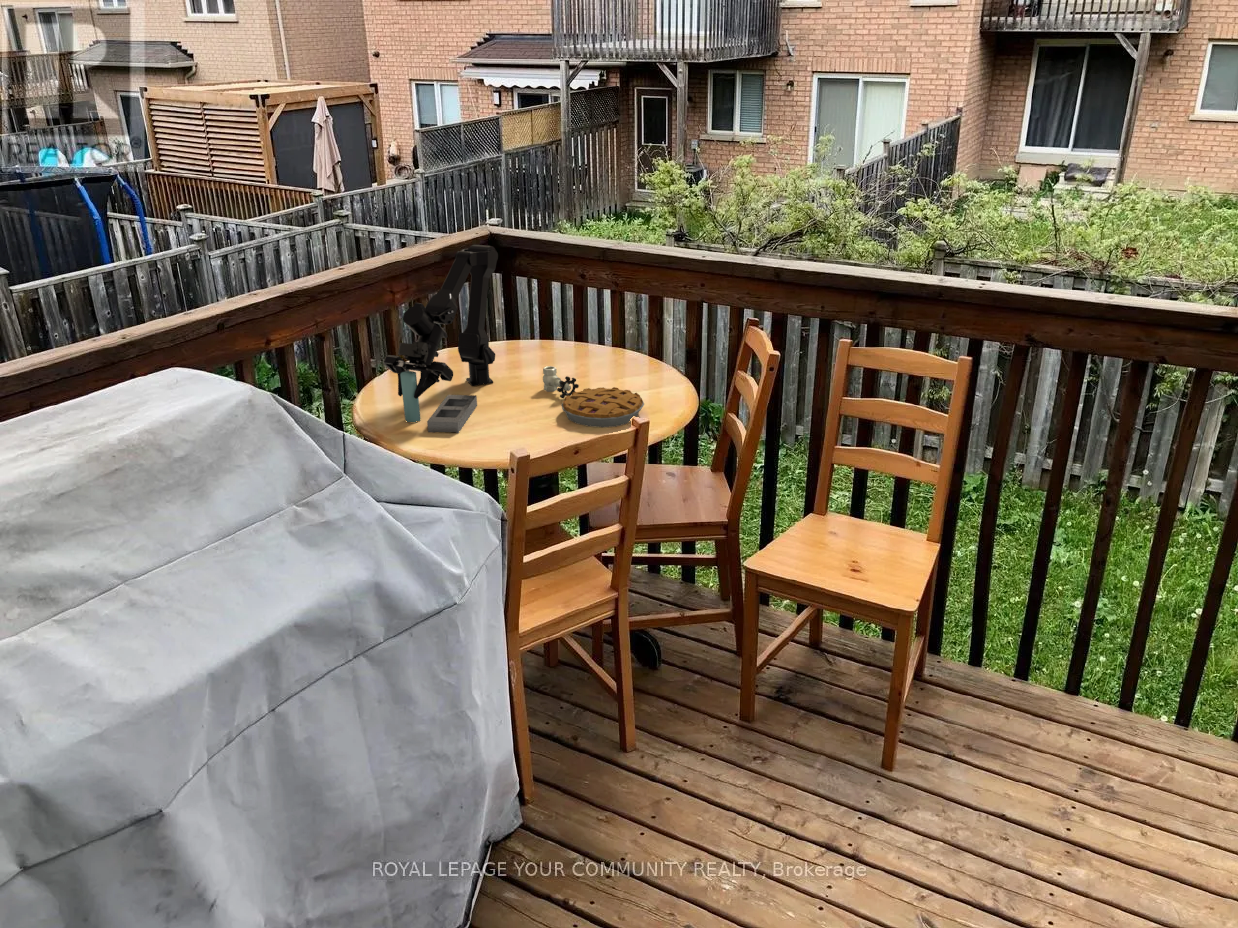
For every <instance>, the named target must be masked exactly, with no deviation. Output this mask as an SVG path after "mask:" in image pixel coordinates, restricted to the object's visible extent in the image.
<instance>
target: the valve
mask: <svg viewBox="0 0 1238 928" xmlns="http://www.w3.org/2000/svg"><path fill="white" fill-rule="evenodd" d="M557 373H558V372H557V367H555V366H552V365H549V366H548V365H547V366H544V367H543V368H542V374H543V376H542V382H543V391H545V392H547V393H549V392H556V391H557V392H558V393H561V394H559V398H561V399H565V397H566V396H571V395H572V392H576V389H578V388H579V387H580V385H579V384H577V383H576V382H577V379H576V378H575V377H572V378H571V377H570V376H568V375H567V376H565V378H564V379H565V380H564V381H563V380H562V378H561V377H558V375H557ZM571 385H572V386H571ZM569 391H570V392H569Z"/></svg>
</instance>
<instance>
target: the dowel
mask: <svg viewBox="0 0 1238 928" xmlns="http://www.w3.org/2000/svg"><path fill="white" fill-rule="evenodd" d="M400 376H401V385H402V401H403V411H404V420H406V421H407V422H416V421H419V422H420V421H421V420H420V419H422V418H421V410H420V409H421V408H420V401H419V398H420V397H418V398H417V399H415V398H414V394H415V390H416V388H417V385H418V380H417V379H418V378H417V371H414V370H410V371H406V372H402V373H401V374H400ZM407 422H406V423H407ZM416 423H417V422H416Z"/></svg>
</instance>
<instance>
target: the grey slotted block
mask: <svg viewBox="0 0 1238 928" xmlns="http://www.w3.org/2000/svg"><path fill="white" fill-rule="evenodd" d="M477 407H478V399H477V395H474V394H473V395H470V394H447V395H446V397H445V398H444V399H443V400H442V402H441V403H440V404H439V406H437V408H436V409H435V411H433V413H432V415H430V417H429V418H428V420H427V421H426V422H427V423H426V424H427V425H426V426H427V432H428V433H435V432H456V433H455V434H459V433H460V432H461V431H462V429H463V428H464V426H465V425H466V423H467V422H468V420H469V419H470V417H471V416H472V414H473V413H474V411H475V409H477ZM470 415H471V416H470ZM468 418H469V419H468ZM466 421H467V422H466ZM464 424H465V425H464ZM462 427H463V428H462ZM459 431H460V432H459Z"/></svg>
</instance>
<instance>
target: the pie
mask: <svg viewBox="0 0 1238 928" xmlns="http://www.w3.org/2000/svg"><path fill="white" fill-rule="evenodd" d="M560 405H561V409H562V411H563V412H564V413H565V415H566V417H567V419H568V420H569V421H571V422H572V423H575V424H578V425H583V426H584V427H585V426H586V427H593V428H613V427H614V428H615V427H620V426H623V425H626V424H629V423H630V422H629V421H630V419H631V418H632V417H633V416H636V417H637V416H638V415H639V413H640V411H642V408H643V407H644V406H645V403H644V400H643V398H642V397H641V395H640V394H639V393H637V392H635V393H633V392H632V391H631V390H630V389H623V390H622V389H619V387H615V386H614V387H612V388H606V387H596V388H590V387H588V388H587V387H586V388H583V390H580V391H575V392H572V395H571V396H565V397H564V400H563V401H562V403H561V404H560Z"/></svg>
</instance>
